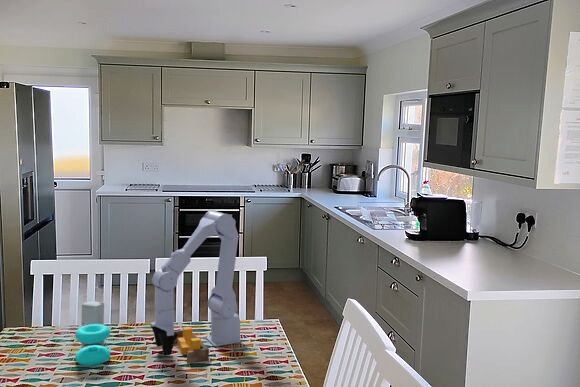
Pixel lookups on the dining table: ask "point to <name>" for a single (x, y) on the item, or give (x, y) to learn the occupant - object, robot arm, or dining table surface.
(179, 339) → the pipe clamp
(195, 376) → the dining table surface
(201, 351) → the bracket
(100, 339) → the donuts
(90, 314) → the skincare box
